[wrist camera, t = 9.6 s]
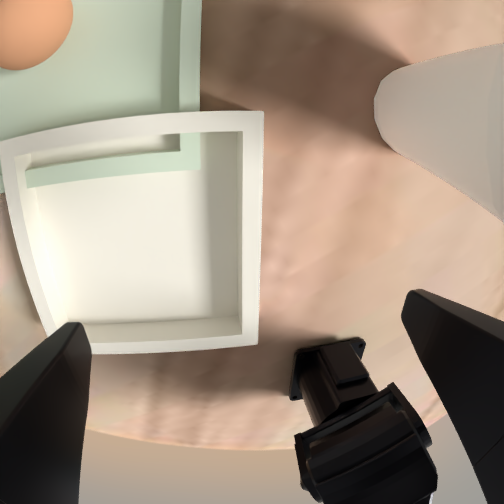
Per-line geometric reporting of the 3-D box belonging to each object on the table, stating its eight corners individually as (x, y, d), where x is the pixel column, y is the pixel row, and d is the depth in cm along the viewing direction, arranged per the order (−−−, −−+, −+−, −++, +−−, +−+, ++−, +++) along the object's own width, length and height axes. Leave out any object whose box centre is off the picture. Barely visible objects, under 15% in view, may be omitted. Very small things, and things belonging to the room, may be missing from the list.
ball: (82, 63, 13) (47, 49, 8) (8, 82, 12) (-39, 80, 7) (88, -13, 11) (61, -46, 6) (14, 9, 10) (-26, -11, 5)
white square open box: (249, 317, 23) (257, 344, 20) (65, 327, 20) (55, 353, 18) (252, 110, 17) (264, 111, 14) (23, 135, 14) (-2, 141, 12)
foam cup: (349, 37, 15) (526, 1, 4) (452, 59, 17) (599, 73, 5) (354, 180, 20) (512, 276, 8) (451, 176, 21) (585, 243, 9)
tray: (199, 163, 17) (200, 169, 16) (-42, 197, 14) (-58, 206, 13) (207, -93, 10) (210, -108, 8) (-33, -28, 7) (-46, -34, 5)
